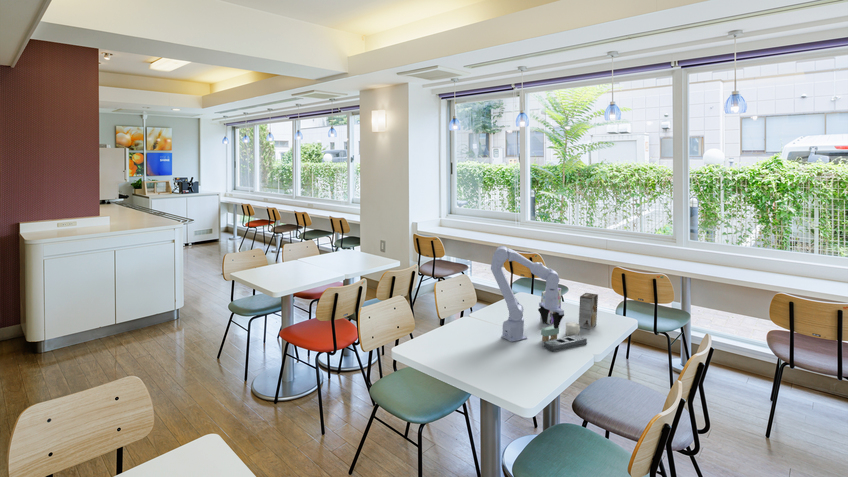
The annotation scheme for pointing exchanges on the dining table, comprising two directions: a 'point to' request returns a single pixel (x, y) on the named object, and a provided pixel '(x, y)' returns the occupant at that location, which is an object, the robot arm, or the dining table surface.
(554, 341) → the rail
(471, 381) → the dining table surface
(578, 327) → the white dome cap
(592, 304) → the coffee box
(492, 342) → the dining table surface
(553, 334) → the green toy bench
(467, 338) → the dining table surface
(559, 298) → the candy box
